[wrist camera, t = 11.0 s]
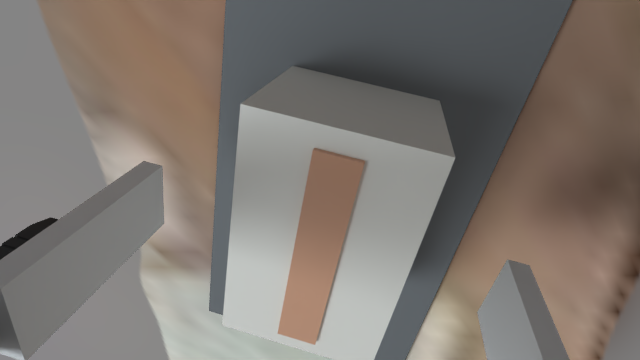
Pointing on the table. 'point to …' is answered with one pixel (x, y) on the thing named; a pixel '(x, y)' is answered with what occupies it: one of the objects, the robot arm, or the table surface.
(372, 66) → the mat
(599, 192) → the table surface
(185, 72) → the table surface
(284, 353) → the table surface
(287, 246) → the white rectangular block
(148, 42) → the table surface
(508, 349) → the robot arm
